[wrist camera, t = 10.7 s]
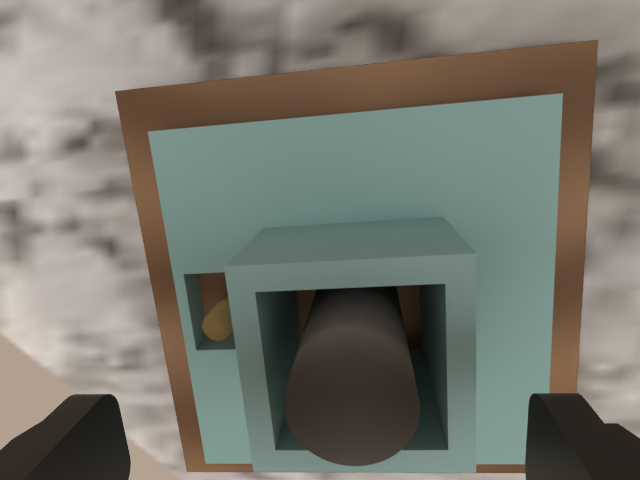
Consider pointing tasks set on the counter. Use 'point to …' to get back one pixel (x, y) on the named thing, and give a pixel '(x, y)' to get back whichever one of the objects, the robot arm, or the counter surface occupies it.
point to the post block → (364, 302)
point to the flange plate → (371, 265)
